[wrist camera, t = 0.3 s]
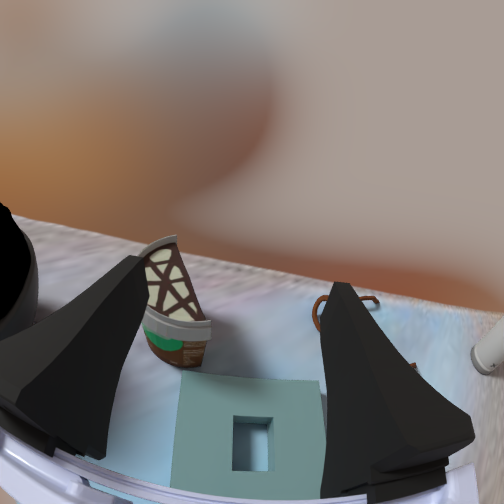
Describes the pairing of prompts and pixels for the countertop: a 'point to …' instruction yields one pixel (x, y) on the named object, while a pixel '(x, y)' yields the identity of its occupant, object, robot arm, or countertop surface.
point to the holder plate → (248, 411)
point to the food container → (172, 307)
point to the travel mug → (489, 349)
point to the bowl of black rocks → (16, 277)
